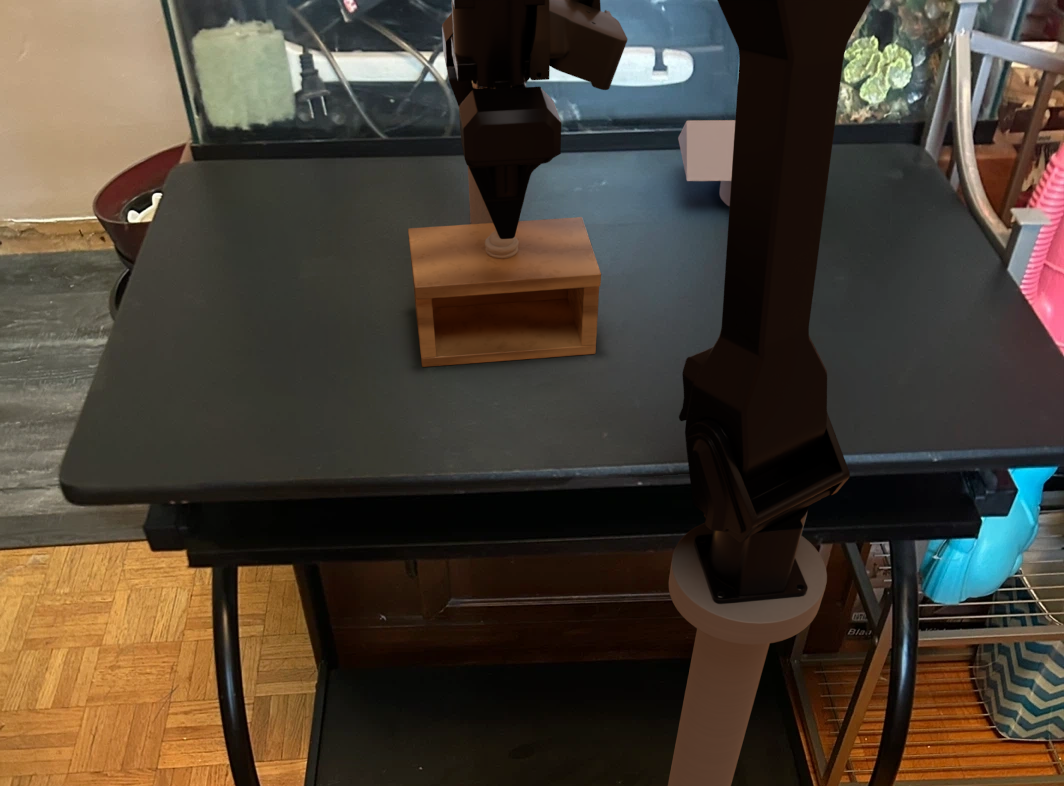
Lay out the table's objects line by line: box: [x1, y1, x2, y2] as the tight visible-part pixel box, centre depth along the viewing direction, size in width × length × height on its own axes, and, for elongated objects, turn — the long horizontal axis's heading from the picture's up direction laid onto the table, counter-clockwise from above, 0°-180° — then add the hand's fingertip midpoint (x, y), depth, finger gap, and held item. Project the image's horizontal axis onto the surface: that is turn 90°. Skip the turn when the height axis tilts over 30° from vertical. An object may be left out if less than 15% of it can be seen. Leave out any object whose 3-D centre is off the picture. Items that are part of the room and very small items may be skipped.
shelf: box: [407, 216, 602, 368], centre depth 82 cm, size 9×14×7 cm, turn 97°
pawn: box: [485, 229, 519, 259], centre depth 77 cm, size 3×3×4 cm
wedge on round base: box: [677, 119, 735, 208], centre depth 96 cm, size 9×7×13 cm
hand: (500, 207), depth 76 cm, fingers open, 9 cm apart
